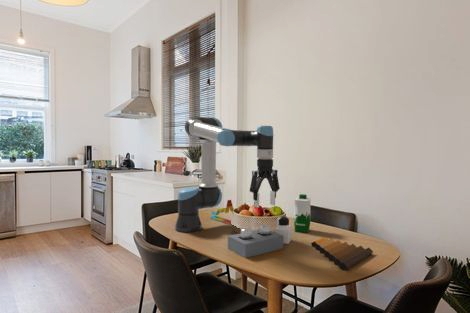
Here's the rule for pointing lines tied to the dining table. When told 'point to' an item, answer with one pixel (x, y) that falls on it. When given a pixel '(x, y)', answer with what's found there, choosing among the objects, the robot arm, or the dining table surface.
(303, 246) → the dining table surface
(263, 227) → the steel peg
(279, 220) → the medicine bottle
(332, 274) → the dining table surface
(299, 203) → the milk carton
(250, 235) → the steel peg
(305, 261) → the dining table surface
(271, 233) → the peg block
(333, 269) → the dining table surface
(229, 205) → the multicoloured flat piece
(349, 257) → the pan flute
